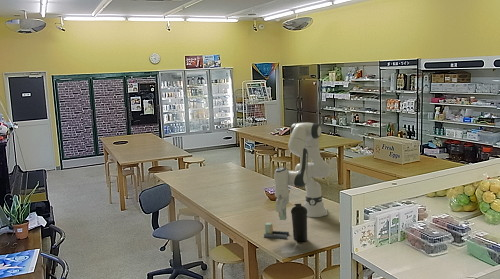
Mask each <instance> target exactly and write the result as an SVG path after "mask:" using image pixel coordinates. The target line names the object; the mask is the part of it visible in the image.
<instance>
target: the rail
mask: <svg viewBox="0 0 500 279" xmlns="http://www.w3.org/2000/svg"><path fill="white" fill-rule="evenodd" d="M289 236H290V231H283V230H282V231H281V230H273V234H266V233H263V239H268V240H269V239H272V240H273V239H274V240H284V241H285V240H286V241H287V239H288V237H289Z"/></svg>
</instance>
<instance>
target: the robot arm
mask: <svg viewBox="0 0 500 279" xmlns="http://www.w3.org/2000/svg"><path fill="white" fill-rule="evenodd" d="M289 132H290V136H289V139H288V143H287V148H288V150H289V152H291V153H292V154H293V155H295V156H296V157H298V158H299V163H297V164H296V165H295V167H294V170H289V169H287V168H286V167H285V166H280V167H276V169H275V170H274V174H273V178H274V179H273V180H274V182H273V183H274V197H276V199H275V211H276V212H277V213H279V212H280V216H283V215H284V214H283V209H284V208H285V207H286V208H287V206H288V204H289V202H290V192H291V190H290V189H289V186H291V187H292V186H293V187H297V188H303V187H304V186H305V187H304V188H305V201H304V203H303V206H304V207H305V208H306V209H307V218H320V217H324V216H327V215H328V211H327V210H328V209H327V207H325V204H324V201H323V195H322V186H321V184H320V183H319V182H317V181H316V180H314V179H313V178H315V179H316V178H328V177H329V176H330V174H331V173H332V172H331V171H332V168H331V165H329V163H328V162H326V161H325V160H324V159H323V158H322V156H321V152H320V151H321V150H320V140H319V138H320V137H321V135H322V126H321V125H320V124H319V123H316V122H307V121H306V122H295V123H292V124H291V125H290V128H289ZM309 160H311V162H309Z"/></svg>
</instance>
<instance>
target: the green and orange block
mask: <svg viewBox="0 0 500 279" xmlns="http://www.w3.org/2000/svg"><path fill="white" fill-rule="evenodd" d="M264 231H265V233H264V234H273V231H274V226H273V223H272V222H265V224H264Z"/></svg>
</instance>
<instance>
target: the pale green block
mask: <svg viewBox="0 0 500 279" xmlns="http://www.w3.org/2000/svg"><path fill="white" fill-rule="evenodd" d="M283 214H284V215H283V216H280V212H278V218H279V221H286V220H287V206H286V207H285V208H284V209H283Z"/></svg>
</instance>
